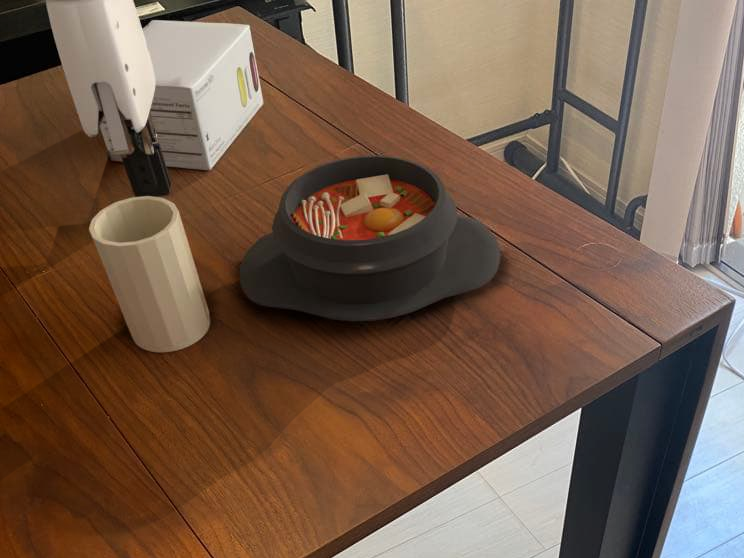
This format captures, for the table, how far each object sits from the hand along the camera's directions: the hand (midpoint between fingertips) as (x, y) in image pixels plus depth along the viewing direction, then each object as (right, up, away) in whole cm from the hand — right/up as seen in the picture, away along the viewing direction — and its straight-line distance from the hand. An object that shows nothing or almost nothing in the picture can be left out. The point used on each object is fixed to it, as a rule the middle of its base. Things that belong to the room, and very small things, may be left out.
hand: (153, 191), depth 76 cm
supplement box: (-3, +18, +26) cm, 31 cm away
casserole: (+20, -6, +5) cm, 21 cm away
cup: (+1, -12, +2) cm, 12 cm away
